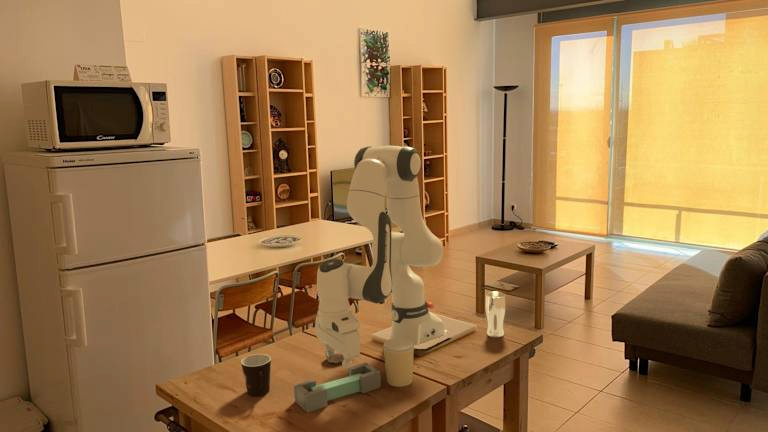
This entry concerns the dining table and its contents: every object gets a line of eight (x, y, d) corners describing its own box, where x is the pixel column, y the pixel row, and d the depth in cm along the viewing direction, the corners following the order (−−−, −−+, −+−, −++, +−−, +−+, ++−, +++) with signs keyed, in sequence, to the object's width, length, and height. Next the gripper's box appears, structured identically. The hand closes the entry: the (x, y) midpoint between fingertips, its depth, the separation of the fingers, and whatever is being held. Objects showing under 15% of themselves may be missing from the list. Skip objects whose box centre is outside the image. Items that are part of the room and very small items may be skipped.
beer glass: (482, 335, 210) (482, 295, 207) (490, 329, 215) (490, 290, 213) (500, 339, 206) (500, 298, 203) (508, 332, 211) (508, 293, 209)
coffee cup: (421, 379, 178) (420, 342, 176) (400, 391, 171) (399, 352, 169) (399, 370, 184) (397, 334, 182) (377, 381, 178) (376, 344, 176)
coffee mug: (247, 384, 179) (245, 354, 177) (276, 384, 178) (273, 353, 176) (237, 404, 167) (234, 371, 165) (267, 403, 167) (264, 370, 165)
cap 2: (366, 377, 181) (365, 362, 180) (380, 387, 174) (380, 371, 173) (349, 383, 177) (348, 367, 176) (363, 393, 171) (362, 377, 170)
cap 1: (307, 412, 161) (306, 396, 160) (294, 401, 168) (293, 385, 167) (327, 405, 164) (326, 389, 163) (314, 394, 171) (313, 378, 170)
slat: (315, 405, 166) (314, 392, 165) (311, 400, 169) (310, 387, 168) (365, 390, 173) (365, 377, 173) (360, 385, 176) (360, 373, 176)
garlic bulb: (334, 353, 199) (333, 331, 198) (351, 358, 195) (350, 335, 194) (320, 362, 193) (318, 339, 192) (337, 367, 189) (336, 343, 187)
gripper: (308, 309, 174) (311, 352, 176) (343, 330, 157) (346, 378, 160) (327, 304, 177) (330, 346, 180) (363, 324, 160) (365, 371, 163)
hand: (338, 361), depth 170 cm, fingers open, 8 cm apart
